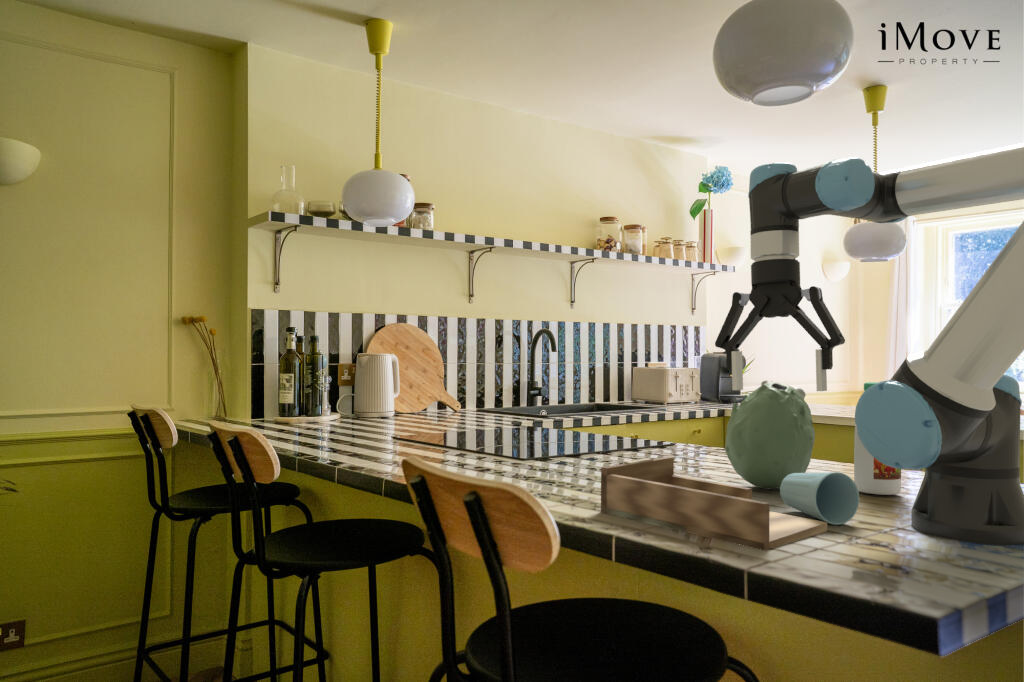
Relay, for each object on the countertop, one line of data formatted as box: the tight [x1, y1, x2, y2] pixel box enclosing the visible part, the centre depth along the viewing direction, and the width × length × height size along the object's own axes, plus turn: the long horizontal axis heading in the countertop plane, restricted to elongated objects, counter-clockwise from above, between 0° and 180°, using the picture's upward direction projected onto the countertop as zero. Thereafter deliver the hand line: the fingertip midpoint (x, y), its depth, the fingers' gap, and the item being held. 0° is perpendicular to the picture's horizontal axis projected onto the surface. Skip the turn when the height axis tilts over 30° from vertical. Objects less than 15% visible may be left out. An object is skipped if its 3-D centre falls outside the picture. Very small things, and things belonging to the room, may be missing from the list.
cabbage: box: [724, 379, 816, 490], centre depth 137 cm, size 16×19×20 cm
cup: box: [779, 471, 860, 526], centre depth 113 cm, size 8×8×10 cm
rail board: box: [600, 456, 828, 551], centre depth 110 cm, size 28×17×8 cm, turn 41°
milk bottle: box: [853, 381, 902, 496], centre depth 134 cm, size 8×8×20 cm
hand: (778, 390), depth 119 cm, fingers open, 13 cm apart
